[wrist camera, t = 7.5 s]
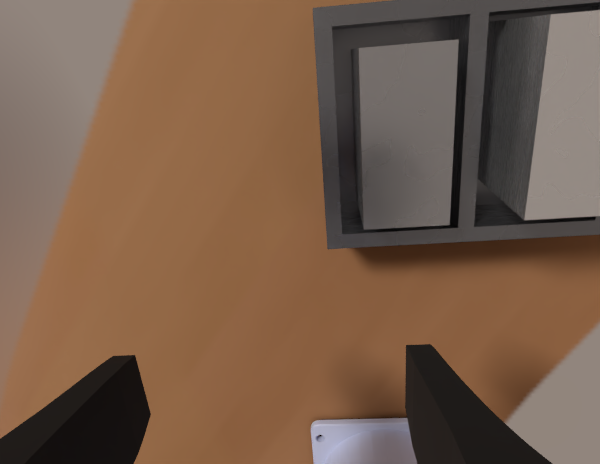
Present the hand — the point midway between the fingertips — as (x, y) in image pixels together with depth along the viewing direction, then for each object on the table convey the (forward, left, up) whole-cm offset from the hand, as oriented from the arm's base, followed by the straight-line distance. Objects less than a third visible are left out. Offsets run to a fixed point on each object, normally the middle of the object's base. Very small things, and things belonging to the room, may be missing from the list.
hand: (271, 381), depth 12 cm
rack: (+5, -7, -10) cm, 13 cm away
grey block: (+6, -10, -9) cm, 14 cm away
